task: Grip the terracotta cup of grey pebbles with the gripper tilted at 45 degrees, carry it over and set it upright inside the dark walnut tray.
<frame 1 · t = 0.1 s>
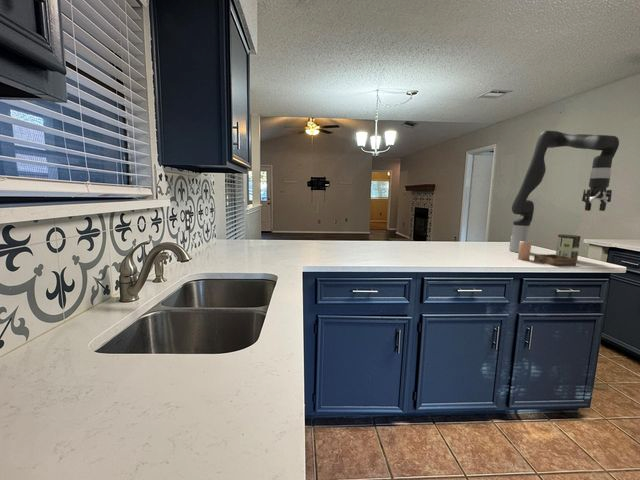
hand: (594, 210, 158), 29 cm above the table, tool pointing down, fingers open, 8 cm apart
coffee can: (565, 260, 182), on the table
walnut tray: (554, 263, 172), on the table
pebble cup: (523, 259, 181), on the table
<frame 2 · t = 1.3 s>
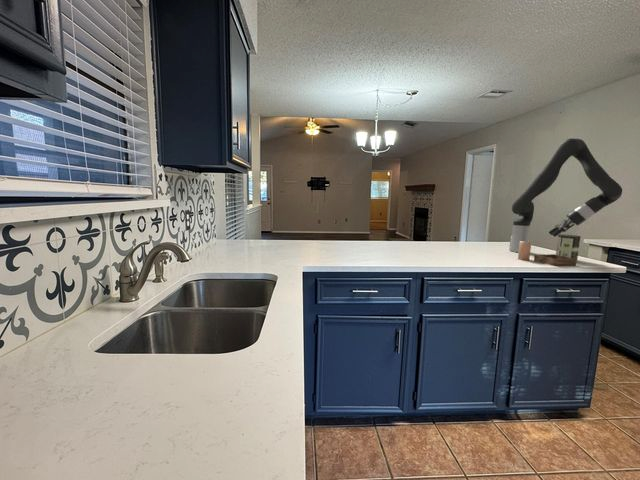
hand: (551, 234, 174), 15 cm above the table, tool tilted 45°, fingers open, 8 cm apart
nothing on the table moved.
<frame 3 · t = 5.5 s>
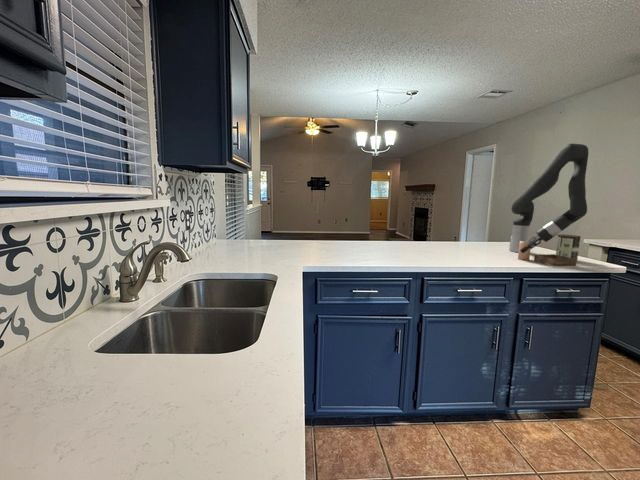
hand: (520, 250, 181), 5 cm above the table, tool tilted 45°, fingers closed on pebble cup, 5 cm apart
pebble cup: (523, 259, 181), on the table, touching gripper
everything else where it was.
when the fingers open (7 cm above the table, at t = 10.5 s): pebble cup drops 1 cm, resting on walnut tray.
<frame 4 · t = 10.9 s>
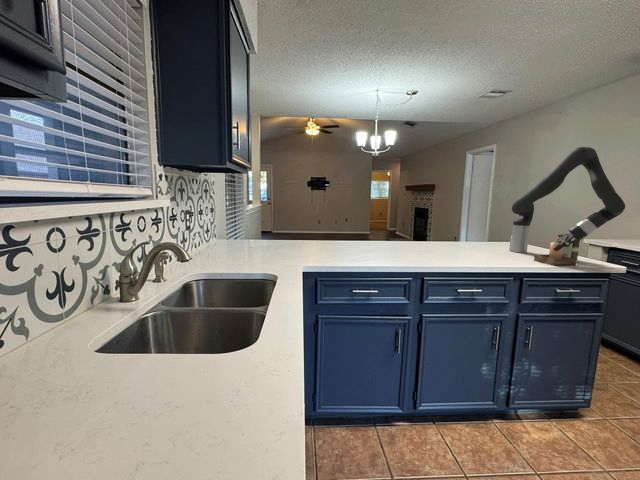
hand: (552, 248, 172), 8 cm above the table, tool tilted 45°, fingers open, 8 cm apart
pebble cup: (554, 261, 172), point 1 cm above the table, touching walnut tray
everything else where it was.
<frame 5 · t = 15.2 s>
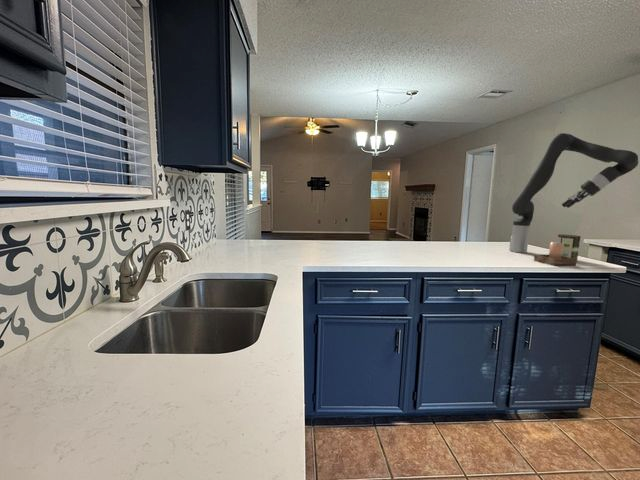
hand: (564, 206, 171), 31 cm above the table, tool tilted 45°, fingers open, 8 cm apart
nothing on the table moved.
at the end: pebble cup inside the target area on the walnut tray (0.2 cm from its centre), point 1.1 cm above the walnut tray's base; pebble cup tilted 1°; the gripper is holding nothing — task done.
